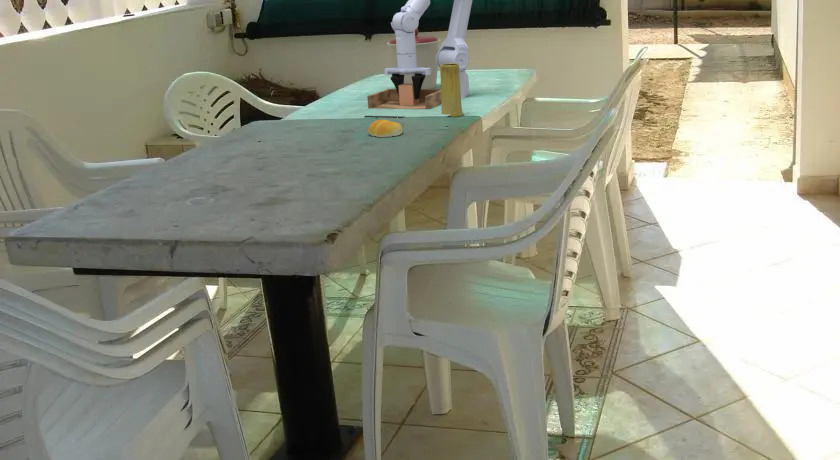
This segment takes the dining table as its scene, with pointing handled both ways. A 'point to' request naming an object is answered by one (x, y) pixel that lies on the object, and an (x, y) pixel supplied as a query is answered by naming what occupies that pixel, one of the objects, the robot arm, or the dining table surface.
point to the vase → (450, 90)
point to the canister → (420, 58)
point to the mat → (384, 116)
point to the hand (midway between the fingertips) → (409, 98)
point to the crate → (391, 101)
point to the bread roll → (385, 128)
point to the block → (407, 94)
